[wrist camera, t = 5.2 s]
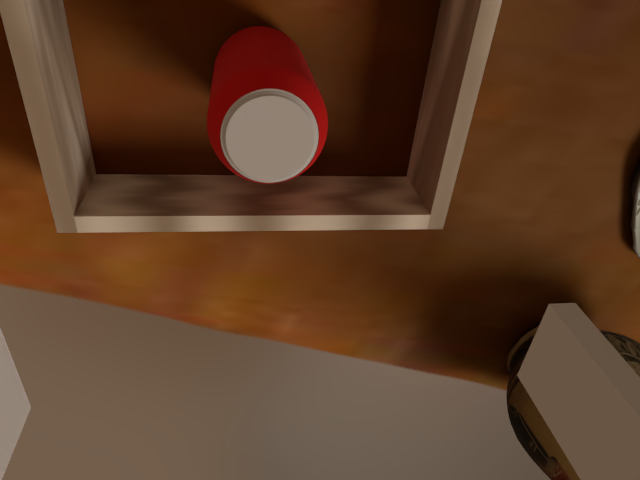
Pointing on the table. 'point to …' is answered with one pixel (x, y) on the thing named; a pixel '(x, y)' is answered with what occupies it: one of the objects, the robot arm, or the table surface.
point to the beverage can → (265, 107)
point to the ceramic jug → (529, 419)
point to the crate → (231, 190)
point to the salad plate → (636, 212)
